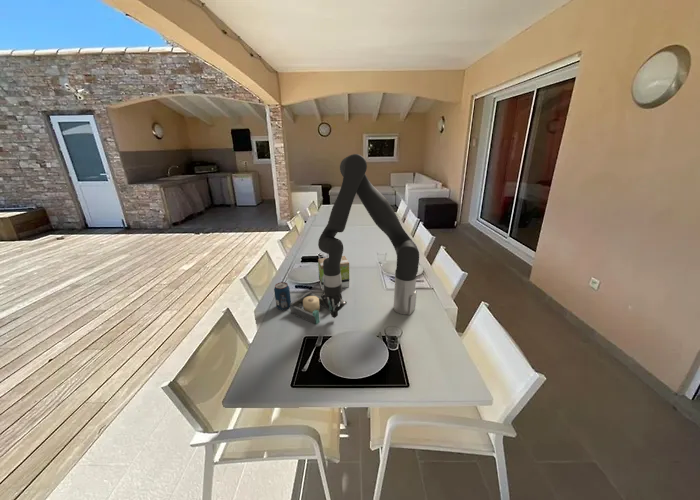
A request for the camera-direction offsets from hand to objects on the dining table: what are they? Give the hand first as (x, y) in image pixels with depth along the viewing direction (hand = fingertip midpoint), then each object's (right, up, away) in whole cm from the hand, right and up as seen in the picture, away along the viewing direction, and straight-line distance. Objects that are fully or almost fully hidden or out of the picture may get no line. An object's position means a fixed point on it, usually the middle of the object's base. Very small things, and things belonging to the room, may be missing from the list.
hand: (334, 316), depth 126 cm
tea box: (-2, +10, +30) cm, 31 cm away
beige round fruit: (-11, +1, +7) cm, 13 cm away
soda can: (-25, +2, +11) cm, 27 cm away
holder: (-10, +1, +7) cm, 12 cm away
